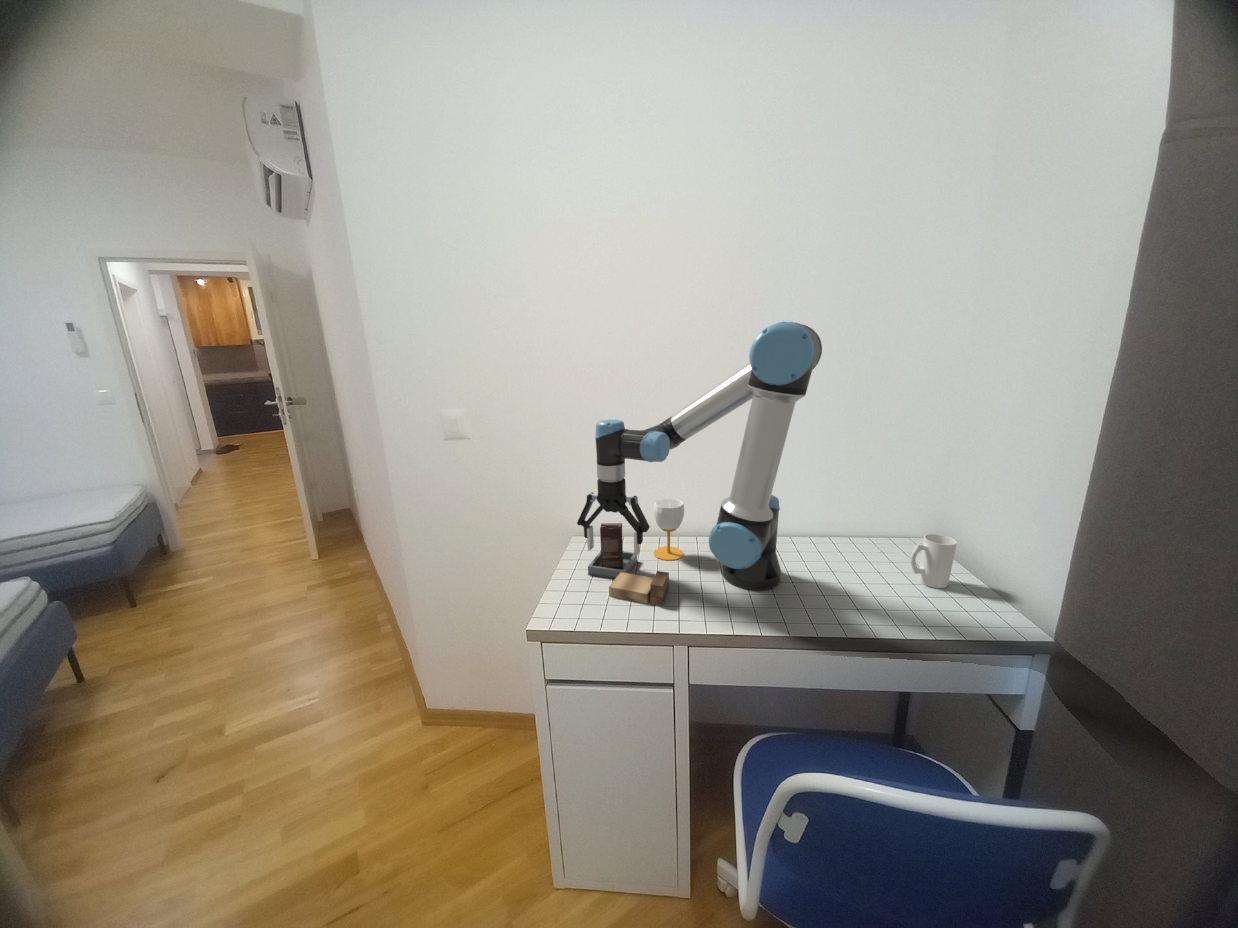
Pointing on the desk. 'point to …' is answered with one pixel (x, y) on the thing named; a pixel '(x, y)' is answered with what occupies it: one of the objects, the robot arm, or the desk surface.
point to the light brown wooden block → (631, 587)
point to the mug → (934, 560)
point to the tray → (598, 570)
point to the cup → (668, 525)
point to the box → (611, 545)
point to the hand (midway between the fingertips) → (613, 551)
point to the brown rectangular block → (659, 587)
